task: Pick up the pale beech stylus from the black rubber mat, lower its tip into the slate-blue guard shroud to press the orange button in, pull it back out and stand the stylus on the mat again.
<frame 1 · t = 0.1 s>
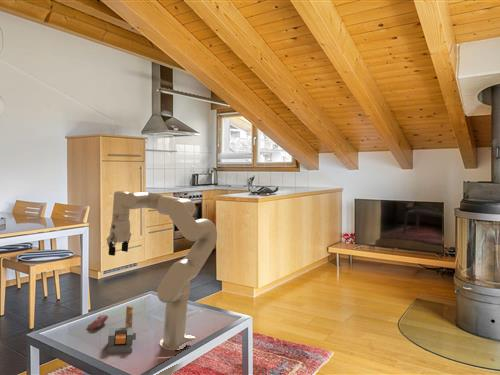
hand: (118, 253, 185), 37 cm above the table, tool pointing down, fingers open, 9 cm apart
switch box: (120, 348, 170), on the table
button: (120, 338, 170), point 4 cm above the table, slide at 0.0 cm
stylus: (127, 336, 180), point 1 cm above the table, touching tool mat
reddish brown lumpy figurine: (97, 327, 189), on the table
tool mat: (127, 337, 180), on the table
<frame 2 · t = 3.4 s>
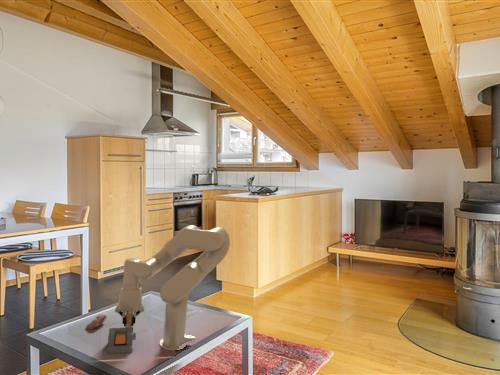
hand: (128, 324, 180), 6 cm above the table, tool pointing down, fingers closed on stylus, 3 cm apart
stylus: (127, 336, 180), point 1 cm above the table, touching gripper, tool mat
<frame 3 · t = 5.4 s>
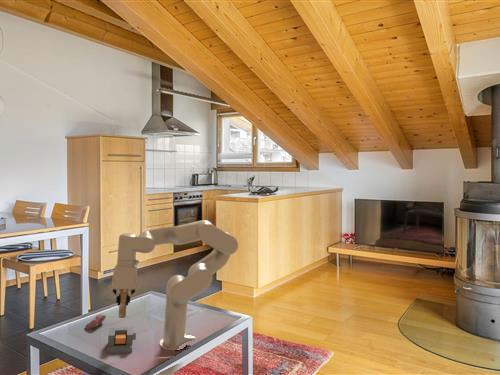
hand: (123, 304, 170), 19 cm above the table, tool pointing down, fingers closed on stylus, 3 cm apart
stylus: (122, 316, 170), point 14 cm above the table, touching gripper
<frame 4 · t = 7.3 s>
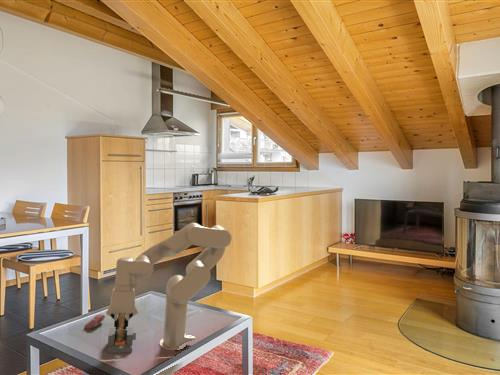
hand: (120, 328, 169), 9 cm above the table, tool pointing down, fingers closed on stylus, 3 cm apart
button: (120, 343, 170), point 2 cm above the table, slide at 2.1 cm, touching stylus
stylus: (120, 340, 170), point 3 cm above the table, touching button, gripper
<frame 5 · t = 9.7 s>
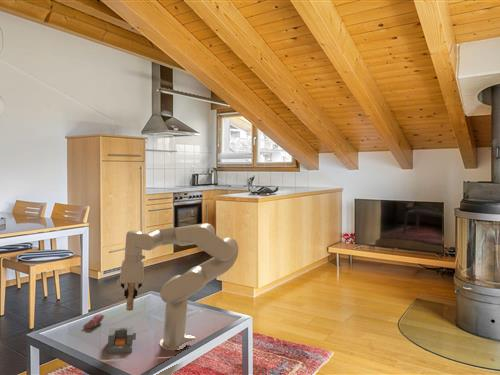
hand: (130, 297, 179), 19 cm above the table, tool pointing down, fingers closed on stylus, 3 cm apart
button: (120, 343, 170), point 2 cm above the table, slide at 2.1 cm
stylus: (129, 309, 180), point 13 cm above the table, touching gripper
when the fingers open (8 cm above the table, at t = 12.0 s): stylus drops 1 cm, resting on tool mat.
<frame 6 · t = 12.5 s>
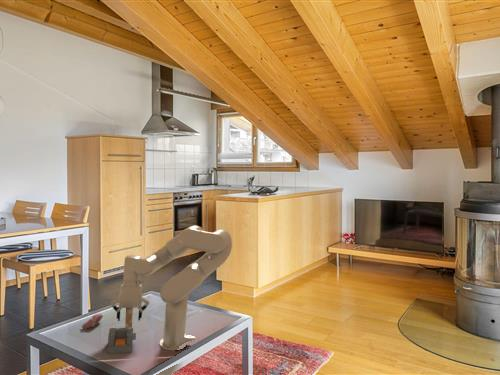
hand: (129, 319, 180), 9 cm above the table, tool pointing down, fingers open, 8 cm apart
stylus: (128, 336, 180), point 1 cm above the table, touching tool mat
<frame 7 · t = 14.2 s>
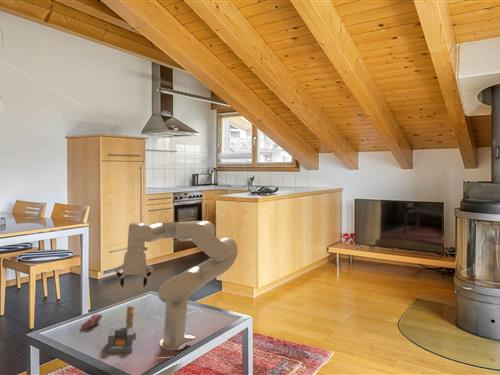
hand: (133, 286, 181), 24 cm above the table, tool pointing down, fingers open, 9 cm apart
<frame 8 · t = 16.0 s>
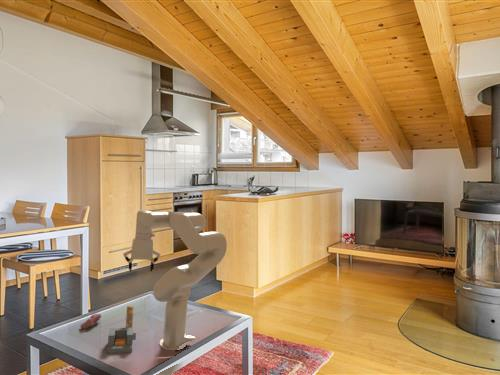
hand: (140, 270, 190), 28 cm above the table, tool pointing down, fingers open, 9 cm apart
at the end: button slide at 2.1 cm; stylus 0.1 cm from the target spot, point 0.6 cm above the table; stylus tilted 1° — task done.
